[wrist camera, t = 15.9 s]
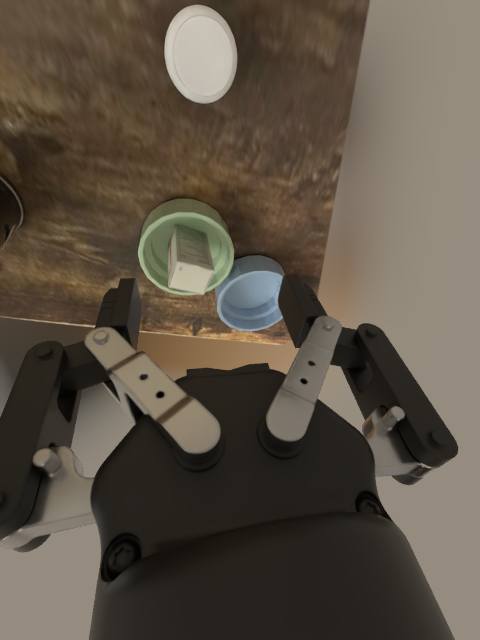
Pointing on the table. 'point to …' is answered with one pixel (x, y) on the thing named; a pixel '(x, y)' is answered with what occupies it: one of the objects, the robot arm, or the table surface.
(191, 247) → the skincare product carton
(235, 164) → the table surface
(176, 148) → the table surface
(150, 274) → the bowl left
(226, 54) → the pill bottle
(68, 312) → the table surface
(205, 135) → the table surface
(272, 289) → the bowl right
